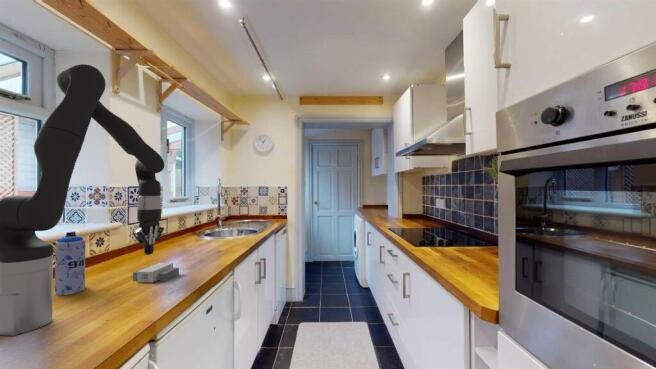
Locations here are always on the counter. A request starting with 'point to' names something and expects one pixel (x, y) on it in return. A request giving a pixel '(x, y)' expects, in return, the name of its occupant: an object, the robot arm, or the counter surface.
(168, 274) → the charcoal cradle
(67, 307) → the counter surface
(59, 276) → the aerosol can
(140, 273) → the skincare box
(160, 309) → the counter surface
